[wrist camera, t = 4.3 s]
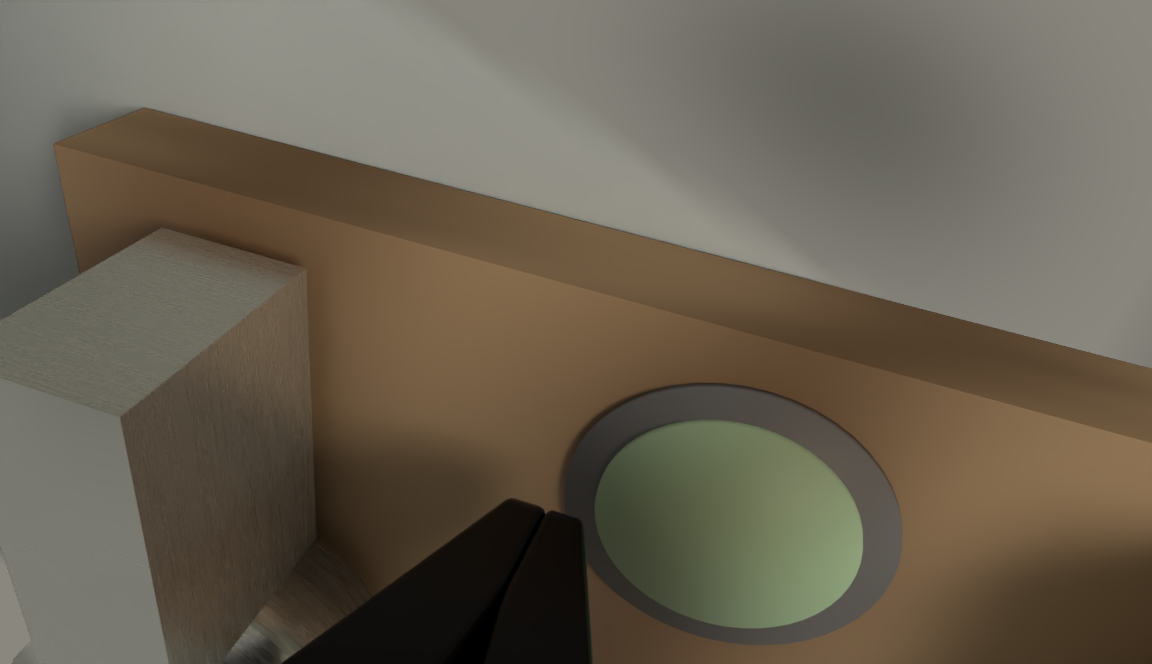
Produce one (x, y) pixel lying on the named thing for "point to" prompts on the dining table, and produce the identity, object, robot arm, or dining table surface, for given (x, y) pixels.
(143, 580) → the steel lever handle
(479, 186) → the dining table surface
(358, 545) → the copper base
